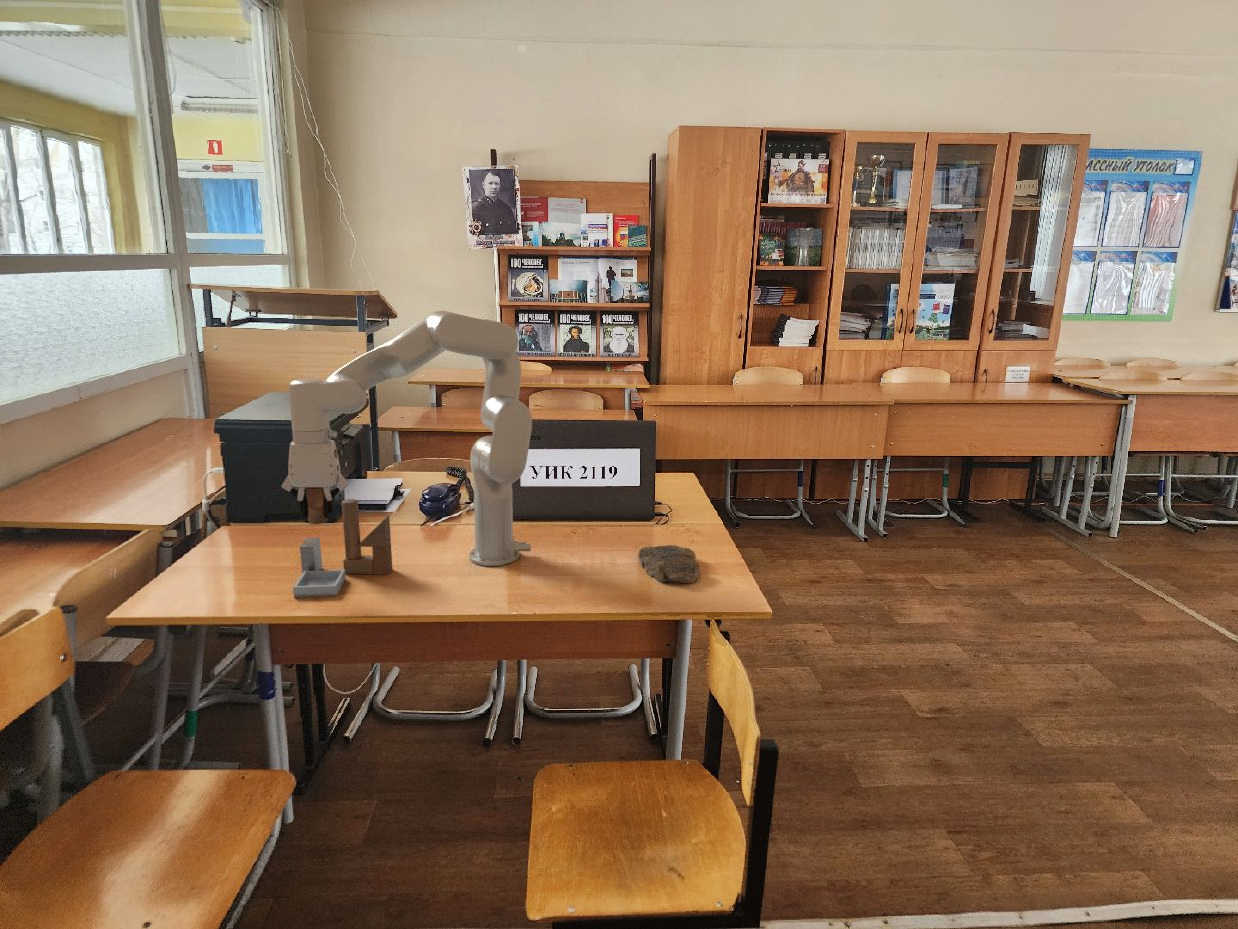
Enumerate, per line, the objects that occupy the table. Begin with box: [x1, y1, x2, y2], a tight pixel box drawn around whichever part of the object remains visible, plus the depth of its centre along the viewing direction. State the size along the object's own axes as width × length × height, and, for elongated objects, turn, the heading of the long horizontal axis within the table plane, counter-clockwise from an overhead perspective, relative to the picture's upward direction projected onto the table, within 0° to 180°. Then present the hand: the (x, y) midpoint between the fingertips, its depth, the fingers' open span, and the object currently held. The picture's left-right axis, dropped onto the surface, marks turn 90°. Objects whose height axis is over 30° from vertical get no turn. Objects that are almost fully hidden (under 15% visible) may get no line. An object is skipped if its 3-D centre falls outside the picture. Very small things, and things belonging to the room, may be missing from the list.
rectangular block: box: [299, 537, 323, 575], centre depth 179 cm, size 3×6×8 cm, turn 8°
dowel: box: [306, 488, 328, 525], centre depth 166 cm, size 4×4×8 cm
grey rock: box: [637, 544, 701, 584], centre depth 185 cm, size 14×5×20 cm
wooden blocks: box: [341, 498, 393, 576], centre depth 179 cm, size 4×11×18 cm, turn 89°
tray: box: [292, 569, 347, 599], centre depth 171 cm, size 9×9×2 cm
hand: (317, 515), depth 167 cm, fingers closed on dowel, 4 cm apart
